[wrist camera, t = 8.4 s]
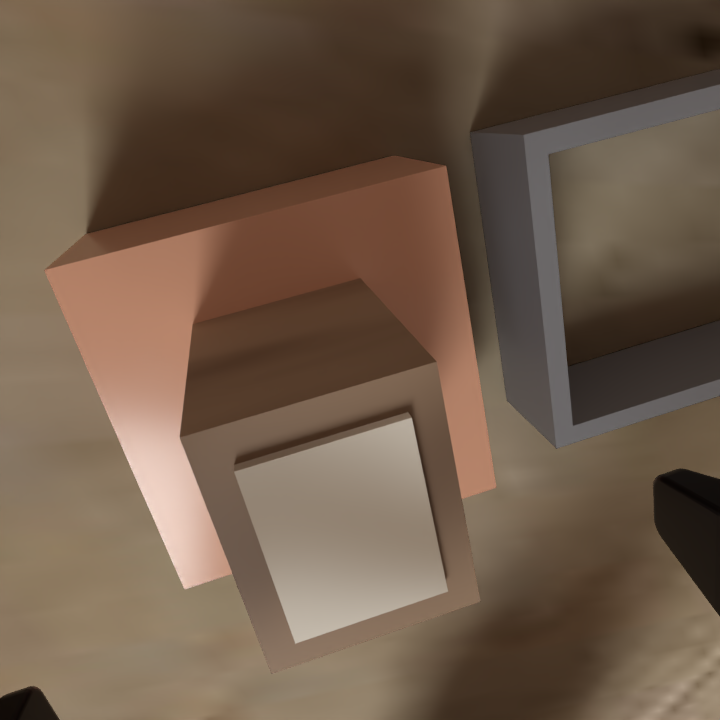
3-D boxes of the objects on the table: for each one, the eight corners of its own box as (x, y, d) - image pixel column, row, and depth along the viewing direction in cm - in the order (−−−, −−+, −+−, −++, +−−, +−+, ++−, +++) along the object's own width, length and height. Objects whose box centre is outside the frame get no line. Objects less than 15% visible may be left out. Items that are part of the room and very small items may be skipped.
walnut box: (400, 455, 16) (484, 609, 11) (254, 500, 16) (272, 683, 11) (360, 278, 14) (440, 366, 9) (192, 323, 14) (178, 443, 9)
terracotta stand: (443, 417, 22) (496, 487, 18) (191, 496, 21) (184, 589, 17) (394, 155, 18) (446, 165, 14) (85, 234, 17) (44, 269, 13)
